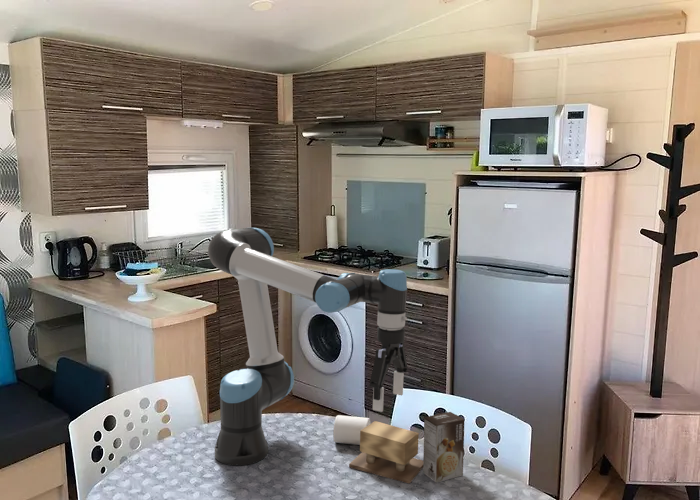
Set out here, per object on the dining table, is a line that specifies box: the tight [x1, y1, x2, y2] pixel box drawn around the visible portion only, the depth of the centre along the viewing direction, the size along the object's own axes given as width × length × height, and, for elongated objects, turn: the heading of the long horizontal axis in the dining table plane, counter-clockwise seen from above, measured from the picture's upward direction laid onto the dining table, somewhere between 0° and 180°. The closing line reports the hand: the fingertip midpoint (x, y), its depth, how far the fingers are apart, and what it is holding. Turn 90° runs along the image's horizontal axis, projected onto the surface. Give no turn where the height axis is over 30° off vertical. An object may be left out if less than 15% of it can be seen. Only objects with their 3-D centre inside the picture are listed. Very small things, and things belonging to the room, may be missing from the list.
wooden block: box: [359, 420, 420, 465], centre depth 162 cm, size 14×8×6 cm, turn 57°
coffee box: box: [422, 411, 465, 484], centre depth 158 cm, size 9×6×16 cm
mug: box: [332, 414, 371, 446], centre depth 179 cm, size 12×10×8 cm
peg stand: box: [348, 452, 423, 485], centre depth 163 cm, size 18×12×4 cm, turn 62°
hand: (388, 402), depth 161 cm, fingers open, 13 cm apart
